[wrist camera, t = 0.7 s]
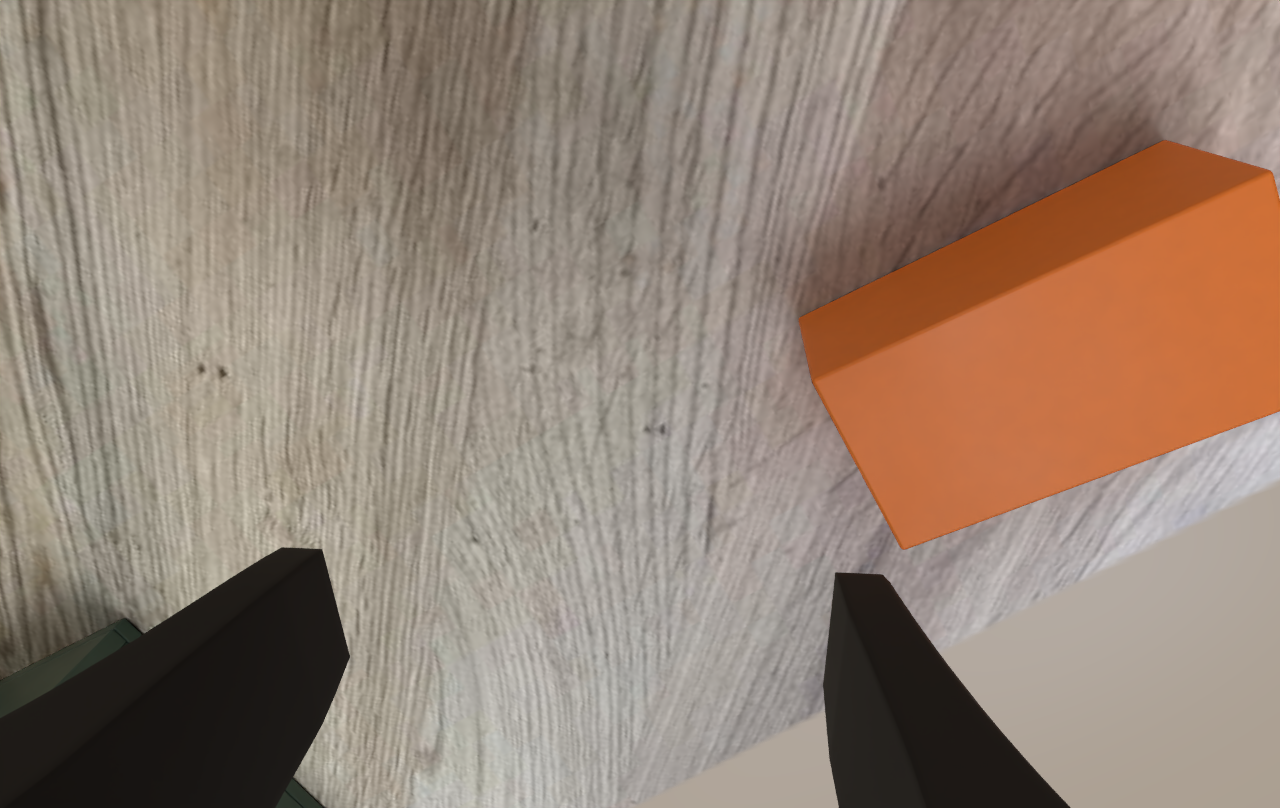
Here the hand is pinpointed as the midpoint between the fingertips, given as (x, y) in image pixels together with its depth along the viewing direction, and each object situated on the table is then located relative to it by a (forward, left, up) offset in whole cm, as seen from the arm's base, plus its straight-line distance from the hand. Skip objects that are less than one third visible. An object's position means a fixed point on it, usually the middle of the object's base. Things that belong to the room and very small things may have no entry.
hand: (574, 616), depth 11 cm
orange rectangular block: (-3, -8, -9) cm, 12 cm away
